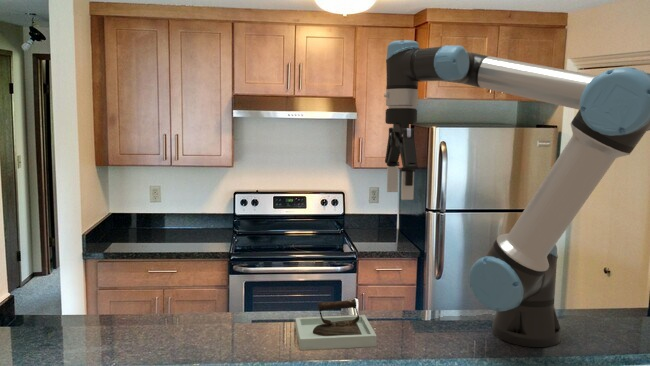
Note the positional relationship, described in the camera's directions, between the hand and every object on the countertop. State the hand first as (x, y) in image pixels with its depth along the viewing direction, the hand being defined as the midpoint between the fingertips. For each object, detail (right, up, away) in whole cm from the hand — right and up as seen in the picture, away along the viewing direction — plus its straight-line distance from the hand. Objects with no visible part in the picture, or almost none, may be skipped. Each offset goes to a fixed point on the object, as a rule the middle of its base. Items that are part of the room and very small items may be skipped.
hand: (399, 195), depth 132 cm
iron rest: (-16, -33, -6) cm, 37 cm away
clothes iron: (-16, -32, -7) cm, 36 cm away
